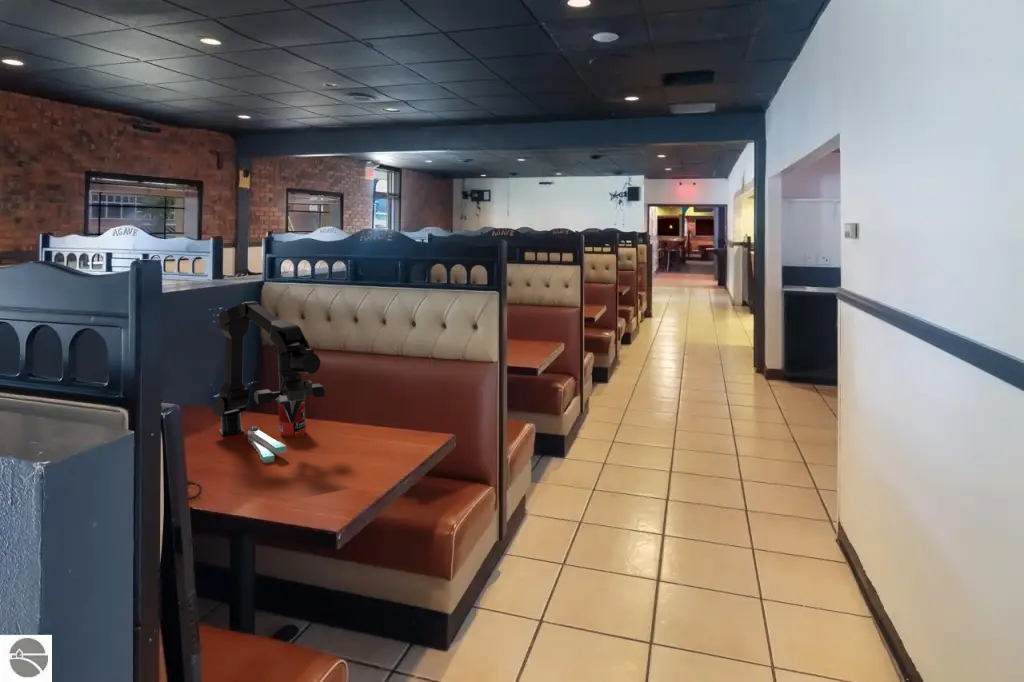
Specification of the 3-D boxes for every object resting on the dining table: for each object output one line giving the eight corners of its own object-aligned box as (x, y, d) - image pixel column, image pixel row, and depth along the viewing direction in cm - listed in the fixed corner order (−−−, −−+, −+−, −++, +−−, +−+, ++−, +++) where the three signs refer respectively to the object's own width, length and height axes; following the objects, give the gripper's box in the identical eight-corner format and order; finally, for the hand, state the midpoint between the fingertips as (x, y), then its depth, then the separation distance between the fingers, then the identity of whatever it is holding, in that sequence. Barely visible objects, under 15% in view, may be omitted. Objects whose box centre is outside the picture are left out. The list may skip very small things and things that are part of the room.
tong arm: (246, 435, 193) (245, 427, 193) (257, 433, 195) (256, 425, 195) (275, 454, 176) (275, 445, 176) (287, 451, 178) (286, 443, 178)
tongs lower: (247, 441, 194) (247, 435, 193) (258, 439, 195) (258, 433, 195) (263, 463, 175) (262, 457, 175) (275, 461, 177) (274, 455, 176)
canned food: (298, 438, 197) (296, 403, 195) (274, 436, 198) (272, 402, 197) (310, 431, 204) (309, 397, 202) (288, 429, 206) (286, 396, 204)
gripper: (260, 378, 170) (263, 435, 173) (330, 370, 180) (332, 424, 182) (252, 371, 179) (255, 424, 182) (319, 364, 189) (321, 415, 192)
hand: (292, 422), depth 184 cm, fingers closed
